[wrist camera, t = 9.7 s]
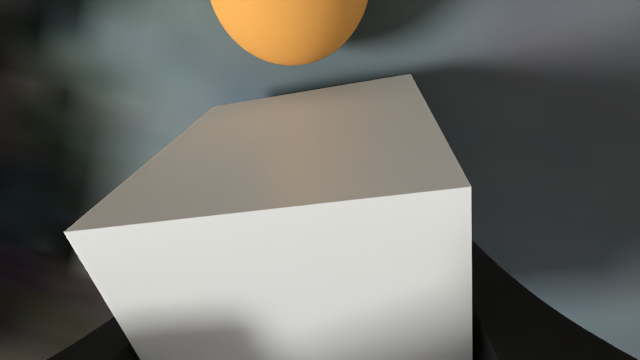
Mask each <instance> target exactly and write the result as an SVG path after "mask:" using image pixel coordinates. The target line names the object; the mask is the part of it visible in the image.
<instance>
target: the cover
mask: <svg viewBox="0 0 640 360" xmlns="http://www.w3.org/2000/svg"><path fill="white" fill-rule="evenodd" d="M64 234H65V235H66V237H67V239H68V240H69V242H70V244H71V245H72V247H73V249H74V250H75V252H76V254H77V255H78V257H79V259H80V260H81V262H82V264H83V265H84V267H85V269H86V270H87V272H88V274H89V275H90V277H91V279H92V280H93V282H94V283H95V285H96V287H97V288H98V290H99V292H100V293H101V295H102V297H103V298H104V300H105V302H106V303H107V305H108V307H109V308H110V310H111V312H112V313H113V315H114V317H115V318H116V320H117V322H118V323H119V325H120V327H121V328H122V330H123V332H124V333H125V335H126V337H127V338H128V340H129V342H130V343H131V345H132V347H133V348H134V350H135V352H136V353H137V355H138V356H139V358H140V360H472V217H471V185H470V183H469V181H468V180H467V178H466V176H465V174H464V172H463V170H462V168H461V167H460V165H459V163H458V161H457V159H456V157H455V155H454V154H453V152H452V150H451V148H450V146H449V144H448V142H447V141H446V139H445V137H444V135H443V133H442V131H441V129H440V128H439V126H438V124H437V122H436V120H435V118H434V116H433V115H432V113H431V111H430V109H429V107H428V105H427V103H426V101H425V100H424V98H423V96H422V94H421V92H420V90H419V88H418V87H417V85H416V83H415V81H414V79H413V77H412V75H411V74H407V75H401V76H395V77H389V78H383V79H377V80H371V81H365V82H359V83H353V84H346V85H340V86H334V87H328V88H322V89H316V90H310V91H304V92H298V93H292V94H286V95H280V96H274V97H268V98H262V99H256V100H250V101H244V102H238V103H232V104H226V105H220V106H214V107H212V108H211V109H210V110H208V111H207V112H206V113H205V114H204V115H203V116H201V117H200V118H199V119H198V120H197V121H195V122H194V123H193V124H192V125H191V126H189V127H188V128H187V129H186V130H185V131H183V132H182V133H181V134H180V135H179V136H178V137H176V138H175V139H174V140H173V141H172V142H170V143H169V144H168V145H167V146H166V147H164V148H163V149H162V150H161V151H160V152H158V153H157V154H156V155H155V156H154V157H153V158H151V159H150V160H149V161H148V162H147V163H145V164H144V165H143V166H142V167H141V168H139V169H138V170H137V171H136V172H135V173H133V174H132V175H131V176H130V177H129V178H128V179H126V180H125V181H124V182H123V183H122V184H120V185H119V186H118V187H117V188H116V189H114V190H113V191H112V192H111V193H110V194H109V195H107V196H106V197H105V198H104V199H103V200H101V201H100V202H99V203H98V204H97V205H95V206H94V207H93V208H92V209H91V210H89V211H88V212H87V213H86V214H85V215H84V216H82V217H81V218H80V219H79V220H78V221H76V222H75V223H74V224H73V225H72V226H70V227H69V228H68V229H67V230H66V231H64Z"/></svg>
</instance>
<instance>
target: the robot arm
mask: <svg viewBox="0 0 640 360" xmlns="http://www.w3.org/2000/svg"><path fill="white" fill-rule="evenodd" d="M47 360H140V358H139V356H138V355H137V353H136V352H135V350H134V348H133V347H132V345H131V343H130V342H129V340H128V338H127V337H126V335H125V333H124V332H123V330H122V328H121V327H120V325H119V323H118V322H117V320H116V318H115V317H113V318H112V319H110V320H109V321H107V322H106V323H104V324H103V325H102V326H100V327H99V328H97V329H96V330H94V331H93V332H91V333H90V334H88V335H87V336H85V337H84V338H82V339H80V340H79V341H77V342H76V343H74V344H73V345H71V346H69V347H68V348H66V349H64V350H62V351H61V352H59V353H57V354H56V355H54V356H52V357H51V358H49V359H47ZM472 360H638V359H636V358H634V357H632V356H630V355H628V354H627V353H625V352H623V351H621V350H619V349H618V348H616V347H614V346H612V345H611V344H609V343H607V342H606V341H604V340H602V339H601V338H599V337H597V336H596V335H594V334H592V333H591V332H589V331H587V330H585V329H584V328H582V327H581V326H579V325H577V324H576V323H574V322H573V321H571V320H570V319H568V318H566V317H565V316H563V315H562V314H561V313H559V312H558V311H556V310H555V309H553V308H552V307H550V306H549V305H548V304H546V303H545V302H543V301H542V300H541V299H539V298H538V297H537V296H535V295H534V294H533V293H531V292H530V291H529V290H528V289H526V288H525V287H524V286H523V285H521V284H520V283H519V282H518V281H516V280H515V279H514V278H513V277H512V276H510V275H509V274H508V273H507V272H506V271H505V270H503V269H502V268H501V267H500V266H499V265H498V264H497V263H496V262H495V261H494V260H492V259H491V258H490V257H489V256H488V255H487V254H486V253H485V252H484V251H483V250H482V249H481V248H480V247H479V246H478V245H477V244H476V243H475V242H474V241H473V240H472Z"/></svg>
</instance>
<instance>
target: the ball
mask: <svg viewBox="0 0 640 360" xmlns="http://www.w3.org/2000/svg"><path fill="white" fill-rule="evenodd" d="M210 1H211V4H212V6H213V9H214V11H215V13H216V15H217V17H218V19H219V21H220V23H221V24H222V26H223V27H224V29H225V30H226V31H227V33H228V34H229V35H230V36H231V37H232V38H233V39H234V40H235V41H236V42H237V43H238V44H239V45H240V46H241V47H242V48H244V49H245V50H246V51H248V52H249V53H251V54H253V55H254V56H256V57H258V58H260V59H262V60H265V61H268V62H271V63H275V64H280V65H303V64H308V63H311V62H315V61H318V60H320V59H322V58H324V57H326V56H328V55H330V54H331V53H333V52H334V51H336V50H337V49H338V48H339V47H341V46H342V45H343V44H344V43H345V42H346V41H347V40H348V39H349V37H350V36H351V35H352V33H353V32H354V31H355V29H356V28H357V26H358V24H359V22H360V20H361V19H362V17H363V14H364V12H365V9H366V6H367V2H368V0H210Z"/></svg>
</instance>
